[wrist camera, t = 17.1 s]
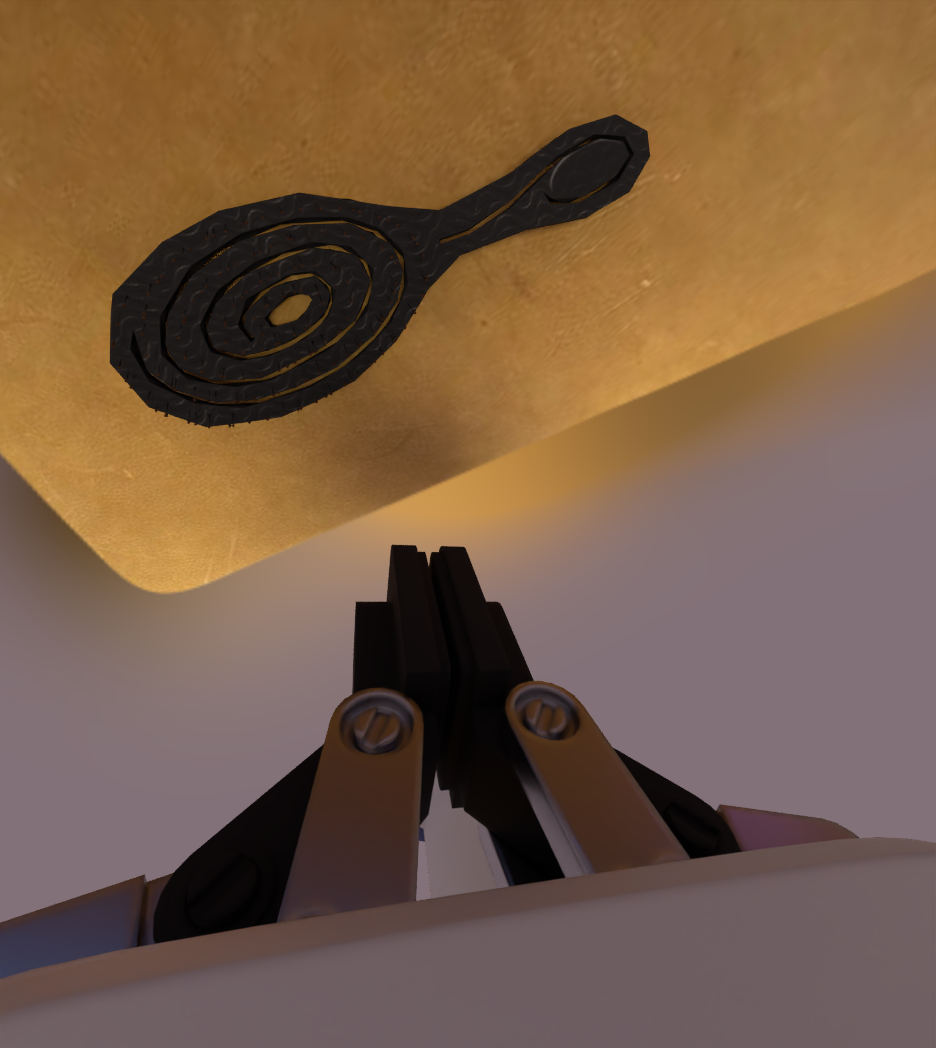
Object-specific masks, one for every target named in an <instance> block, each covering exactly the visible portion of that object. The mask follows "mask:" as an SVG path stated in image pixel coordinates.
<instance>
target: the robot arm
mask: <svg viewBox="0 0 936 1048" xmlns="http://www.w3.org/2000/svg"><path fill="white" fill-rule="evenodd" d="M419 827H421V828H423V829H424V838H425V847H426V856H427V865H428V874H429V884H430V892H431V899H425V900H419V901H416V889H417V867H418V845H419ZM0 1048H936V843H933V842H927V841H920V840H912V839H902V838H882V837H874V838H859V837H858V836H856V835H855V834H854V833H853V832H851V831H849V830H848V829H846V828H844V827H842V826H841V825H839V824H837V823H835V822H831V821H828V820H825V819H821V818H814V817H807V816H800V815H793V814H785V813H778V812H770V811H764V810H756V809H749V808H742V807H735V806H727V805H719V807H718V809H717V810H716V811H715V810H714V809H713V808H712V807H711V806H710V805H708V804H707V803H705V802H704V801H702V800H701V799H700V798H698V797H697V796H695V795H694V794H692V793H690V792H688V791H687V790H685V789H683V788H681V787H680V786H678V785H676V784H674V783H673V782H671V781H669V780H668V779H666V778H664V777H663V776H661V775H659V774H657V773H656V772H654V771H652V770H650V769H649V768H647V767H645V766H644V765H642V764H640V763H639V762H637V761H635V760H633V759H632V758H630V757H628V756H627V755H625V754H623V753H621V752H620V751H618V750H616V749H614V748H613V747H612V746H611V744H610V743H609V742H608V740H607V739H606V738H605V736H604V735H603V733H602V732H601V730H600V729H599V727H598V726H597V725H596V723H595V722H594V720H593V719H592V717H591V716H590V715H589V713H588V712H587V710H586V709H585V707H584V706H583V705H582V704H581V702H580V701H579V700H578V699H577V698H576V697H575V696H574V695H573V694H571V693H570V692H568V691H567V690H565V689H564V688H562V687H559V686H557V685H555V684H552V683H547V682H543V681H534V680H533V678H532V676H531V673H530V671H529V668H528V666H527V664H526V661H525V659H524V657H523V654H522V652H521V650H520V648H519V645H518V643H517V640H516V638H515V636H514V634H513V631H512V629H511V626H510V624H509V622H508V619H507V617H506V615H505V612H504V610H503V608H502V606H501V604H500V603H498V602H486V600H485V598H484V595H483V593H482V590H481V587H480V585H479V582H478V579H477V577H476V574H475V572H474V569H473V567H472V564H471V561H470V559H469V556H468V553H467V551H466V549H465V547H448V546H441V547H440V550H439V552H432V553H431V556H430V564H429V566H428V562H427V557H426V553H425V552H417V547H416V546H414V545H392V546H391V555H390V566H389V578H388V591H387V602H356V610H355V634H354V659H353V691H352V695H351V696H349V697H347V698H345V699H344V700H343V702H341V703H340V705H339V706H338V707H337V708H336V709H335V711H334V713H333V716H332V717H331V720H330V723H329V728H328V731H327V735H326V739H325V742H324V744H323V745H322V746H321V747H320V748H319V749H317V750H316V751H315V752H314V753H313V754H311V755H310V756H309V757H308V758H307V759H305V760H304V761H303V762H302V763H301V764H299V765H298V766H297V767H296V768H295V769H293V770H292V771H291V772H290V773H289V774H287V775H286V776H285V777H284V778H283V779H281V780H280V781H279V782H278V783H277V784H275V785H274V786H273V787H272V788H271V789H269V790H268V791H267V792H266V793H265V794H263V795H262V796H261V797H260V798H259V799H257V800H256V801H255V802H254V803H253V804H251V805H250V806H249V807H248V808H247V809H245V810H244V811H243V812H242V813H241V814H239V815H238V816H237V817H236V818H235V819H233V820H232V821H231V822H230V823H229V824H227V825H226V826H225V827H224V828H223V829H221V830H220V831H219V832H218V833H217V834H215V835H214V836H213V837H212V838H211V839H209V840H208V841H207V842H206V843H205V844H204V845H202V846H201V847H200V848H199V849H197V850H196V851H195V852H194V853H193V854H192V855H190V856H189V857H188V858H187V860H185V861H184V862H183V863H182V865H181V866H180V867H179V868H178V869H177V870H176V871H175V872H174V873H172V874H169V875H166V876H164V877H160V878H157V879H155V880H152V881H149V882H147V881H146V878H145V875H142V876H139V877H136V878H133V879H130V880H127V881H124V882H121V883H118V884H115V885H112V886H109V887H106V888H103V889H100V890H97V891H94V892H91V893H88V894H85V895H82V896H79V897H76V898H73V899H70V900H67V901H64V902H61V903H58V904H55V905H52V906H49V907H46V908H43V909H40V910H37V911H34V912H31V913H28V914H25V915H22V916H19V917H16V918H13V919H10V920H7V921H4V922H1V923H0Z"/></svg>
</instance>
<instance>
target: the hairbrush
mask: <svg viewBox="0 0 936 1048" xmlns="http://www.w3.org/2000/svg"><path fill="white" fill-rule="evenodd" d="M589 139H591V140H595V141H592V142H590V143H587V144H585V145H582V146H580V147H578V146H579V145H581V144H582V143H584V142H586V141H587V140H589ZM576 147H577V148H576ZM575 148H576V149H575ZM573 149H574V150H573ZM572 150H573V151H572ZM570 151H572V152H570ZM568 152H570V153H569V154H567V153H568ZM565 154H567V155H565ZM564 155H565V156H564ZM562 156H564V157H562ZM561 157H562V158H561ZM649 157H650V151H649V142H648V133H647V131H646V130H644V129H642V128H640V127H639V126H637V125H635V124H633V123H631V122H629V121H627V120H625V119H624V118H622V117H620V116H618V115H616V114H615V115H612V116H609V117H606V118H603V119H600V120H596V121H593V122H590V123H587V124H584V125H581V126H577V127H574V128H571V129H569V130H567V131H566V132H565V133H563V134H562V135H560V136H559V137H558V138H556V139H554V140H553V141H552V142H550V143H549V144H548V145H546V146H545V147H544V148H542V149H541V150H539V151H538V152H537V153H535V154H534V155H533V156H531V157H530V158H529V159H528V160H526V161H525V162H524V163H523V164H521V165H520V166H519V167H518V168H516V169H515V170H514V171H513V172H511V173H510V174H508V175H506V176H504V177H502V178H500V179H498V180H496V181H495V182H493V183H491V184H489V185H487V186H485V187H483V188H481V189H479V190H478V191H476V192H474V193H472V194H470V195H468V196H466V197H464V198H462V199H461V200H459V201H457V202H455V203H453V204H451V205H449V206H447V207H445V208H444V209H440V210H430V209H417V208H404V207H391V206H384V205H377V204H371V203H364V202H359V201H355V200H351V199H338V198H331V197H325V196H318V195H312V194H305V193H296V194H292V195H287V196H283V197H278V198H274V199H269V200H265V201H260V202H256V203H252V204H247V205H243V206H238V207H234V208H229V209H225V210H221V211H218V212H216V213H214V214H212V215H210V216H209V217H207V218H205V219H203V220H201V221H200V222H198V223H196V224H194V225H192V226H191V227H189V228H187V229H185V230H183V231H182V232H180V233H178V234H176V235H174V236H172V237H171V238H169V239H167V240H165V241H163V242H162V243H161V244H160V245H159V246H158V247H157V248H156V249H155V250H154V251H153V252H152V253H151V254H150V255H149V256H148V257H147V259H146V260H145V261H144V262H143V263H142V264H141V265H140V266H139V267H138V268H137V269H136V270H135V271H134V272H133V273H132V274H131V275H130V276H129V277H128V278H127V280H126V281H125V282H124V283H123V284H122V285H121V286H120V287H119V288H118V289H117V290H116V291H115V292H114V293H113V296H112V307H111V327H110V364H111V365H112V366H113V367H114V368H115V369H116V371H117V372H118V373H119V374H120V375H121V376H122V377H123V379H124V380H125V382H127V383H128V384H129V385H130V388H132V389H133V390H134V391H135V392H136V393H137V394H138V396H139V397H140V398H141V399H142V400H143V401H144V402H145V404H146V405H147V406H148V407H149V408H152V409H155V411H156V412H157V410H158V411H161V412H164V413H166V414H165V415H164V416H165V417H168V414H170V415H173V416H175V417H178V418H181V419H184V420H187V421H188V424H189V423H190V422H193V423H195V424H194V425H197V424H199V425H202V426H205V427H208V428H210V427H212V426H220V425H229V427H231V424H233V425H232V426H233V427H234V424H236V423H244V422H248V423H249V424H250V423H251V421H258V420H265V419H266V420H269V419H271V418H278V417H283V416H285V415H287V414H289V413H292V412H294V411H296V410H298V411H299V410H302V408H303V407H305V406H307V405H310V404H312V403H314V402H316V403H318V400H320V399H322V398H323V397H326V398H327V397H328V396H327V395H329V394H330V395H332V393H333V392H335V391H337V390H339V389H340V388H342V387H344V386H346V385H348V384H350V383H352V382H354V381H355V380H356V379H357V378H358V377H359V376H360V375H361V374H362V373H363V372H364V371H366V370H367V369H368V368H369V367H370V366H371V365H372V364H373V363H374V362H375V363H376V360H377V359H378V358H379V357H380V356H381V355H384V352H385V351H387V350H388V349H389V348H390V347H391V346H392V345H393V344H394V343H395V342H396V341H397V339H398V337H399V336H400V334H401V333H402V331H403V330H404V329H406V325H407V323H408V322H409V320H410V318H411V317H412V315H413V314H416V312H415V311H416V309H417V307H418V306H419V304H420V302H421V301H422V299H423V297H424V296H425V294H426V292H427V290H428V289H429V288H430V287H431V286H432V285H433V284H434V283H435V282H436V281H437V280H438V278H439V277H440V276H441V275H442V274H443V273H444V272H445V271H446V270H447V269H448V268H449V267H450V266H451V265H452V264H453V263H454V262H455V260H456V259H457V258H458V257H459V256H460V255H463V254H465V253H468V252H470V251H473V250H476V249H478V248H481V247H483V246H486V245H489V244H491V243H494V242H496V241H499V240H502V239H504V238H507V237H509V236H512V235H515V234H517V233H520V232H522V231H525V230H530V229H535V228H540V227H544V226H550V225H555V224H559V223H564V222H569V221H574V220H579V219H583V218H587V217H588V216H590V215H591V214H593V213H594V212H596V211H598V210H599V209H601V208H603V207H604V206H606V205H608V204H610V203H611V202H613V201H615V200H617V199H618V198H620V197H622V196H623V195H625V194H627V193H629V192H630V190H631V188H632V187H633V185H634V183H635V182H636V180H637V178H638V176H639V175H640V173H641V171H642V169H643V168H644V166H645V164H646V162H647V161H648V159H649ZM559 158H561V159H560V160H559V161H558V162H557V163H556V164H555V165H554V166H553V167H551V168H550V169H549V170H548V171H547V172H546V173H544V174H543V175H542V176H541V177H540V178H539V179H538V180H537V181H536V182H535V183H534V184H533V185H532V186H530V187H529V188H528V189H527V190H526V191H525V192H524V193H523V194H522V195H521V196H520V197H519V198H518V199H517V200H516V201H515V202H514V203H513V204H512V205H511V206H510V207H509V208H508V209H506V210H505V211H503V212H502V213H500V214H499V215H497V216H496V217H494V218H493V219H492V220H490V221H489V222H487V223H486V224H484V225H483V226H481V227H480V228H478V229H476V230H475V231H473V232H472V233H470V234H468V235H465V236H462V237H459V238H456V239H453V240H450V241H448V242H445V243H442V244H441V243H440V240H443V239H445V238H448V237H451V236H454V235H457V234H460V233H463V232H466V231H468V230H470V229H471V228H473V227H474V226H475V225H477V224H478V223H480V222H481V221H482V220H484V219H485V218H487V217H488V216H489V215H491V214H492V213H494V212H495V211H496V210H498V209H499V208H501V207H502V206H503V205H505V204H506V203H508V202H509V201H511V200H512V199H513V198H514V197H515V196H516V195H517V194H518V193H519V192H520V191H521V190H522V189H523V188H524V187H525V186H526V185H527V184H528V183H529V182H531V181H532V180H533V179H534V178H535V177H536V176H537V175H538V174H539V173H540V172H541V171H542V170H543V169H544V168H545V167H547V166H548V165H550V164H551V163H553V162H554V161H556V160H557V159H559ZM612 178H613V179H612ZM611 179H612V181H611V182H610V183H609V184H608V185H606V186H605V187H603V188H602V189H600V190H599V191H597V192H596V193H594V194H593V195H591V196H590V197H588V198H586V199H585V200H583V201H581V202H579V203H570V202H572V201H574V200H576V199H578V198H580V197H582V196H584V195H586V194H588V193H590V192H592V191H594V190H596V189H597V188H599V187H600V186H602V185H603V184H605V183H606V182H608V181H609V180H611ZM549 202H562V203H565V204H550V203H549ZM335 220H344V221H347V222H350V223H353V224H357V225H360V226H363V227H367V228H370V229H373V230H376V231H379V232H380V233H381V235H382V236H383V237H384V238H385V239H386V240H387V241H388V242H389V243H388V242H386V241H384V240H382V239H381V238H379V237H377V236H376V235H375V234H374V233H373V232H369V231H366V230H364V229H362V228H359V227H357V226H355V225H352V224H350V223H338V224H304V225H292V226H289V227H285V228H282V229H279V230H275V231H272V232H269V233H265V234H262V235H258V236H255V237H252V236H254V235H256V234H259V233H261V232H263V231H266V230H268V229H271V228H273V227H275V226H278V225H280V224H289V223H304V222H320V221H335ZM249 237H252V238H249ZM247 238H248V239H247ZM244 239H245V240H244ZM235 243H236V244H235ZM233 244H234V245H233ZM230 245H233V246H232V247H230V248H229V249H228V250H226V251H225V252H223V253H222V254H221V255H219V256H218V257H217V258H215V259H214V260H212V261H211V262H210V263H208V264H207V265H206V266H204V267H203V268H201V269H200V270H199V271H197V270H198V269H199V268H200V267H201V266H202V265H203V264H205V263H206V262H207V261H208V260H209V259H210V258H211V257H212V256H213V255H214V254H215V253H216V252H217V251H218V250H221V249H223V248H226V247H228V246H230ZM325 245H337V246H339V247H341V248H343V249H345V250H347V251H348V252H350V253H352V254H349V253H345V252H342V251H335V250H331V249H320V248H314V247H320V246H325ZM392 246H393V247H394V248H395V249H396V250H397V251H398V252H399V253H400V254H401V255H402V257H403V259H404V288H403V292H402V295H401V298H400V301H399V303H398V305H397V307H396V309H395V311H394V312H393V314H392V316H391V318H390V320H389V322H388V323H387V325H386V326H385V327H384V328H383V329H382V331H381V332H380V333H379V334H378V335H377V337H376V338H375V339H374V340H373V341H372V342H371V343H370V344H369V345H368V346H367V347H365V348H364V349H363V350H362V351H361V352H360V353H359V354H358V355H357V356H355V357H354V358H353V359H352V360H351V361H350V362H349V363H348V364H347V365H345V366H344V367H342V368H341V369H339V370H338V371H336V372H334V373H332V374H331V375H329V376H327V377H325V378H323V379H321V380H319V381H317V382H315V383H313V384H312V385H310V386H307V387H305V388H302V389H299V390H297V391H294V392H291V393H288V394H285V395H282V396H279V397H276V398H273V399H270V400H267V401H263V402H260V403H238V402H239V401H248V400H257V399H261V398H264V397H267V396H270V395H272V396H273V397H274V395H275V394H277V393H278V394H279V393H280V392H283V391H286V390H289V389H293V388H296V387H298V386H300V385H302V384H304V383H306V382H308V381H310V380H312V379H314V378H316V377H318V376H320V375H322V374H324V373H326V372H328V371H330V370H332V369H335V368H337V367H338V366H339V365H340V364H341V363H342V362H344V361H345V360H346V359H347V358H348V357H349V356H350V355H352V354H353V353H354V352H355V351H356V350H357V349H359V348H360V347H361V346H362V345H363V344H364V343H365V342H367V341H368V340H369V339H370V338H371V337H372V336H374V335H375V333H376V332H377V330H378V329H379V328H380V326H381V325H382V323H383V322H384V320H385V319H386V317H387V316H388V315H389V313H390V311H391V310H392V308H393V307H394V305H395V304H396V302H397V300H398V294H399V290H400V284H401V279H402V273H403V269H402V267H401V264H400V262H399V259H398V257H397V255H396V253H395V251H394V249H393V247H392ZM309 248H311V249H309ZM303 249H308V250H305V251H303V252H300V253H297V254H294V255H292V256H289V257H286V258H284V259H281V260H279V261H276V262H274V263H271V264H269V265H266V266H264V267H261V268H259V269H256V270H254V271H251V270H253V269H255V268H257V267H259V266H261V265H262V264H264V263H266V262H268V261H270V260H272V259H274V258H276V257H277V256H279V255H281V254H283V253H287V252H292V251H298V250H303ZM353 254H354V255H353ZM357 256H358V257H360V258H362V259H364V260H365V261H366V262H367V264H368V268H369V272H370V276H371V280H372V288H371V294H370V297H369V300H368V303H367V305H366V306H365V308H364V310H363V311H362V313H361V315H360V316H359V318H358V320H357V321H356V323H355V324H354V326H353V327H352V328H351V329H350V330H349V331H348V332H347V333H346V334H345V335H344V336H343V337H342V338H341V339H340V340H339V341H338V342H336V343H335V344H333V345H331V346H330V347H328V348H326V349H325V350H323V351H321V352H319V353H318V354H316V355H314V356H313V357H311V358H309V359H308V360H306V361H304V362H302V363H301V364H299V365H297V366H296V367H294V368H292V369H290V370H289V371H287V372H285V373H283V374H281V375H278V376H275V377H273V378H270V379H268V380H264V381H252V382H240V383H228V384H216V383H212V382H209V381H206V380H203V379H201V378H198V377H195V376H193V375H190V374H187V373H185V372H184V371H183V370H186V371H188V372H191V373H194V374H196V375H199V376H202V377H205V378H207V379H210V380H213V381H224V380H244V379H261V378H263V377H265V376H267V375H269V374H272V373H274V372H276V371H280V370H281V369H282V368H284V367H287V368H288V367H289V365H290V364H292V363H294V364H296V361H298V360H300V359H302V358H304V357H306V356H308V355H310V356H311V354H312V353H314V352H315V353H316V352H317V350H319V349H320V348H321V347H323V346H326V344H327V343H328V342H330V341H331V340H332V339H334V338H335V337H336V336H337V335H338V334H340V333H341V332H342V331H343V330H344V329H346V328H347V327H348V326H349V325H350V324H352V323H353V322H354V321H355V320H356V318H357V316H358V314H359V312H360V310H361V308H362V305H363V302H364V299H365V296H366V293H367V290H368V287H369V284H370V282H371V281H370V278H369V276H368V274H367V272H366V270H365V267H364V265H363V263H362V262H361V261H360V260H359V258H358V257H357ZM196 271H197V272H196ZM249 271H251V272H249ZM195 272H196V273H195ZM248 272H249V273H248ZM194 273H195V274H194ZM246 273H247V274H246ZM307 273H312V274H314V275H316V276H319V277H321V278H322V279H323V280H324V281H325V282H326V283H327V284H328V285H329V286H330V287H331V294H332V305H331V307H330V310H329V313H328V315H327V316H326V318H325V319H324V321H323V322H322V323H321V324H320V325H319V326H318V327H317V328H316V329H315V330H314V331H313V332H312V333H310V334H309V335H307V336H306V337H304V338H303V339H301V340H300V341H298V342H297V343H295V344H293V345H291V346H289V347H287V348H285V349H283V350H281V351H278V352H275V353H272V354H270V355H266V356H262V357H257V358H251V359H245V358H233V357H230V356H227V355H224V354H222V353H220V352H219V351H217V350H216V349H219V350H222V351H226V352H230V353H232V354H238V355H242V356H247V355H251V354H255V353H259V352H264V351H268V350H270V349H273V348H276V347H278V346H280V345H282V344H285V343H287V342H289V341H291V340H293V339H295V338H297V337H298V336H299V335H301V334H302V333H304V332H306V331H307V330H308V329H309V328H310V327H311V326H312V325H314V324H315V323H316V322H318V321H319V320H320V319H321V318H322V317H323V316H324V314H325V312H326V310H327V308H328V305H329V303H330V298H331V294H330V292H329V289H328V287H327V285H325V284H324V283H323V282H322V281H321V280H319V279H318V278H317V277H316V276H312V277H308V278H303V279H298V280H294V281H289V282H285V283H283V284H280V285H278V286H276V287H273V288H272V289H270V290H269V291H268V292H267V293H266V294H265V295H263V296H262V297H261V298H260V299H259V300H258V301H256V302H255V303H254V304H253V305H252V307H251V308H250V309H249V310H248V311H247V312H246V313H245V311H246V310H247V309H248V307H249V306H250V305H251V303H252V302H253V301H254V300H255V298H256V297H257V296H258V294H259V293H260V292H261V291H263V290H265V289H267V288H269V287H270V286H272V285H274V284H276V283H278V282H280V281H282V280H284V279H285V278H287V277H289V276H291V275H299V274H307ZM244 274H246V275H245V276H244V277H243V278H242V279H241V280H240V281H238V282H237V283H236V284H235V285H234V286H233V287H232V288H231V289H230V290H229V291H228V292H227V293H226V294H225V295H224V296H223V297H222V298H221V299H220V300H219V298H220V297H221V295H222V294H223V292H224V291H225V289H226V287H227V286H228V285H229V284H230V283H231V282H232V281H234V280H235V279H236V278H238V277H240V276H242V275H244ZM190 277H191V278H190ZM189 278H190V280H189V281H188V283H187V284H186V286H185V288H184V289H183V291H182V293H181V294H180V296H179V297H178V299H177V301H176V302H175V300H176V298H177V295H178V293H179V291H180V288H181V286H182V285H183V284H184V283H185V282H186V281H187V280H188V279H189ZM298 294H304V295H309V296H310V297H311V299H312V301H311V303H310V305H309V306H308V308H307V310H306V311H305V312H304V313H303V314H302V315H301V316H300V317H299V318H298V319H297V320H296V321H293V322H290V323H286V324H283V325H280V326H275V325H272V324H271V322H270V320H269V318H268V316H269V314H270V312H271V311H272V310H273V309H275V308H276V307H277V306H278V305H279V304H280V303H282V302H283V301H284V300H285V299H286V298H288V297H291V296H294V295H298ZM218 300H219V301H218ZM174 302H175V304H174ZM173 305H174V306H173ZM214 306H215V307H214ZM213 308H214V310H213V312H212V315H211V317H210V320H209V322H208V325H206V321H207V318H208V316H209V314H210V313H211V311H212V309H213ZM244 313H245V321H244V327H243V324H242V322H241V316H242V315H243V314H244ZM167 319H168V322H167V332H166V328H165V323H166V321H167ZM244 328H245V329H246V330H247V331H248V332H249V333H250V334H251V335H252V336H253V337H254V338H255V339H254V338H251V337H249V336H248V335H247V334H246V332H245V329H244ZM207 331H208V332H207ZM208 334H209V337H210V339H211V342H212V345H213V347H214V348H216V349H214V348H213V347H211V345H210V344H209V338H208ZM167 349H168V351H169V352H170V354H171V356H172V357H173V359H174V360H173V359H172V358H171V357H170V356H169V355H168V354H167ZM174 361H175V362H176V363H175V362H174ZM182 369H183V370H182ZM150 373H151V374H150ZM152 374H153V375H154V376H153V375H152ZM156 377H157V378H158V379H157V378H156ZM160 380H161V381H162V382H161V381H160ZM163 382H164V383H165V384H164V383H163ZM167 385H168V386H169V387H168V386H167ZM172 389H173V390H172ZM176 391H180V392H183V393H186V394H190V395H193V396H196V397H199V398H203V399H206V400H208V402H207V401H203V400H200V399H197V398H194V397H191V396H188V395H185V394H182V393H179V392H176ZM210 401H212V402H214V403H211V402H210ZM230 401H236V403H234V404H217V402H230Z"/></svg>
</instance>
